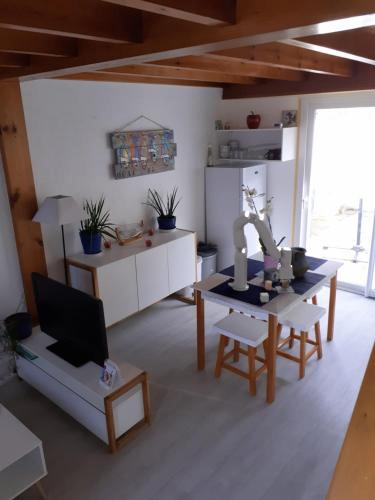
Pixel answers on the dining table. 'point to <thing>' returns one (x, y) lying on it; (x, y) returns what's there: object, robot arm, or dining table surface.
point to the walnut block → (285, 284)
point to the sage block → (264, 297)
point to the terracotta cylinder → (268, 285)
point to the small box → (270, 274)
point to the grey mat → (286, 290)
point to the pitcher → (299, 261)
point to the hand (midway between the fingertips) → (284, 286)
